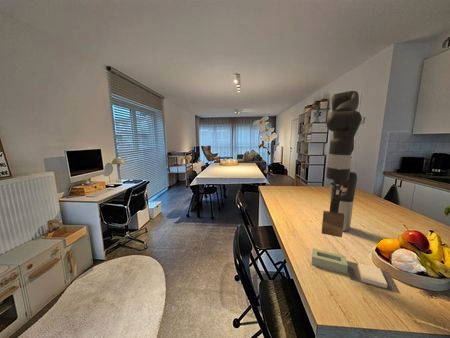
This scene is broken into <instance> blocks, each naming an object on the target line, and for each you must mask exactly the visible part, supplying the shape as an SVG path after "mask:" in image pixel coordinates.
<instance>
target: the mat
mask: <svg viewBox="0 0 450 338" xmlns="http://www.w3.org/2000/svg"><path fill="white" fill-rule="evenodd" d="M358 263H359V262H358ZM358 263H357V262H354V261H348V260H347V265H348V268H347V271H348V273H349V274H348V275H349V279H350V280H351V281H354V282H357V283H361V284H364V285H368V286H372V287H376V288H379V289H382V290H386V291H390V292H393V293H397V294H401V292H400V290H399V288H398V286H397V284H396V282H395V279H393V277H392V275H391V273H390V271H389V272H387V271H388V270H385V269H383V268H382V269H381V268H380V270H381V272H382V274H383V276H384V278H385V280H386V283H387V288H383V287H379V286H376V285H372V284H369V283H365V282H362V280H361V276H360V273H359V270H358V267H357V266H358Z"/></svg>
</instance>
